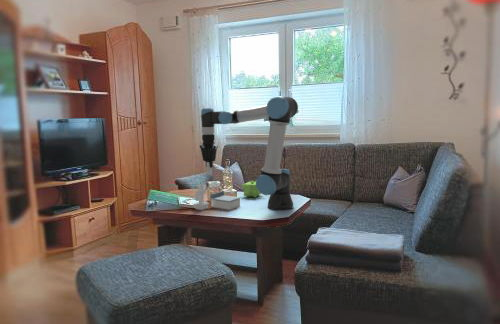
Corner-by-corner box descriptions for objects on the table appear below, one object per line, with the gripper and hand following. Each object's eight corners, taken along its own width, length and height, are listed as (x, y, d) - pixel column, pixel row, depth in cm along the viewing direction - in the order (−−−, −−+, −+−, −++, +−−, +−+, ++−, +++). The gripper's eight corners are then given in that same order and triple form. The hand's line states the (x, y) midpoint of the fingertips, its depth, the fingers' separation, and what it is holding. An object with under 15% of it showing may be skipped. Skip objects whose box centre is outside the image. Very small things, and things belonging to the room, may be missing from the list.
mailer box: (240, 207, 219) (239, 198, 219) (229, 210, 211) (229, 202, 211) (222, 204, 227) (221, 196, 227) (211, 207, 219) (211, 199, 219)
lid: (240, 198, 219) (240, 193, 219) (229, 201, 210) (229, 196, 210) (222, 195, 227) (221, 191, 227) (210, 199, 218) (210, 194, 218)
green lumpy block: (257, 193, 259) (256, 178, 257) (267, 196, 247) (266, 181, 246) (238, 196, 251) (237, 180, 250) (247, 199, 240) (247, 183, 238)
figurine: (191, 210, 213) (190, 185, 211) (201, 207, 221) (200, 182, 219) (201, 212, 210) (200, 186, 208) (211, 208, 218) (210, 183, 216)
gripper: (220, 133, 220) (221, 172, 223) (204, 133, 228) (205, 171, 231) (212, 134, 214) (213, 174, 217) (195, 134, 222) (197, 172, 225)
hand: (209, 172), depth 224 cm, fingers closed
